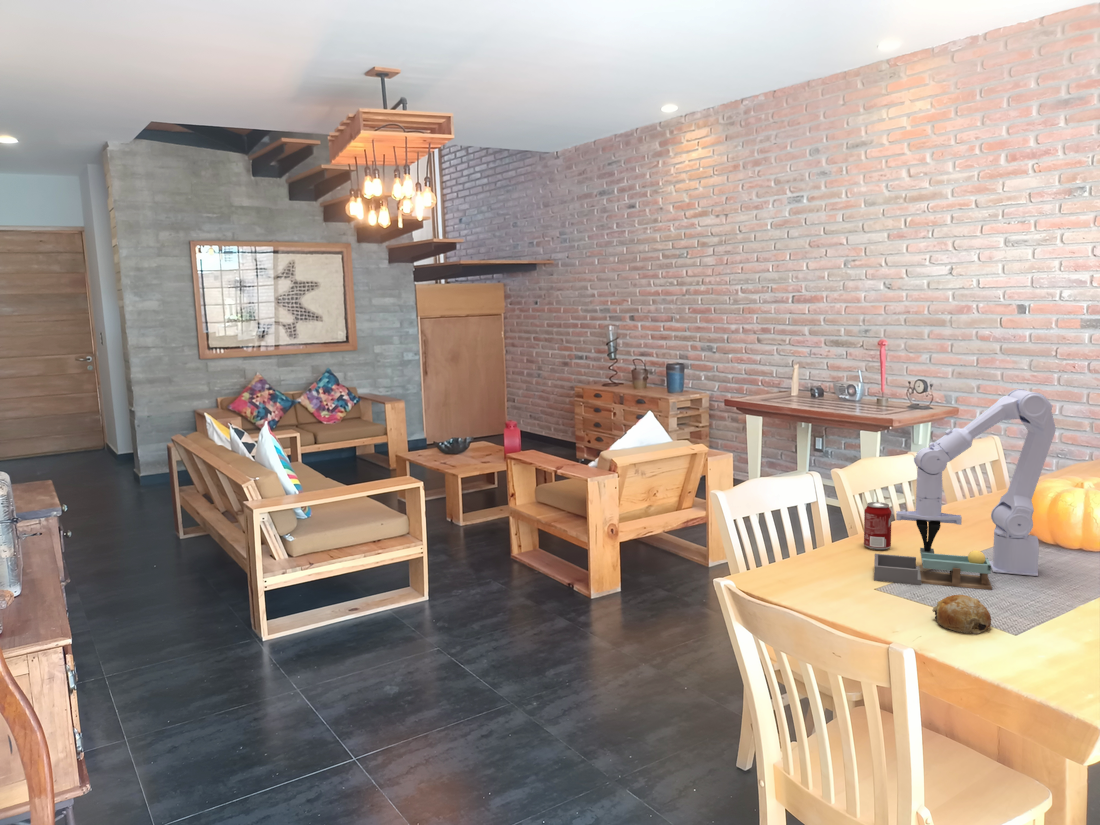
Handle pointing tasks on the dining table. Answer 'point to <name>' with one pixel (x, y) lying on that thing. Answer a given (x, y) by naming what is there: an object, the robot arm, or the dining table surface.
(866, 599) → the dining table surface
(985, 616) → the bread roll
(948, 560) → the lever
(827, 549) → the dining table surface
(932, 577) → the base
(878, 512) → the soda can
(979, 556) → the ball
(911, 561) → the tray
